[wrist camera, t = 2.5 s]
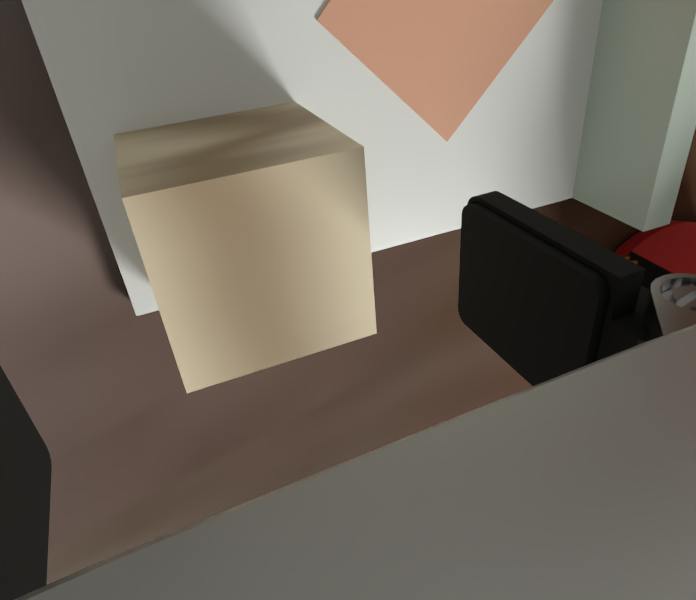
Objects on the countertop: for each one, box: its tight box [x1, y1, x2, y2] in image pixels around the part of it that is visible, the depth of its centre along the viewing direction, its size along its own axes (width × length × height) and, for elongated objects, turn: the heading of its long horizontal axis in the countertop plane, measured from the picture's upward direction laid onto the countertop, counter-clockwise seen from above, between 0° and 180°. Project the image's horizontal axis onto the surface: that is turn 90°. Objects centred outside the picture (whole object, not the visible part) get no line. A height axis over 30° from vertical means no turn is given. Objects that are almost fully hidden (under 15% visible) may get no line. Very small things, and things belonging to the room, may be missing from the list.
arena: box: [21, 0, 696, 316], centre depth 14 cm, size 18×14×4 cm
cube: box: [113, 102, 377, 393], centre depth 14 cm, size 5×5×5 cm
